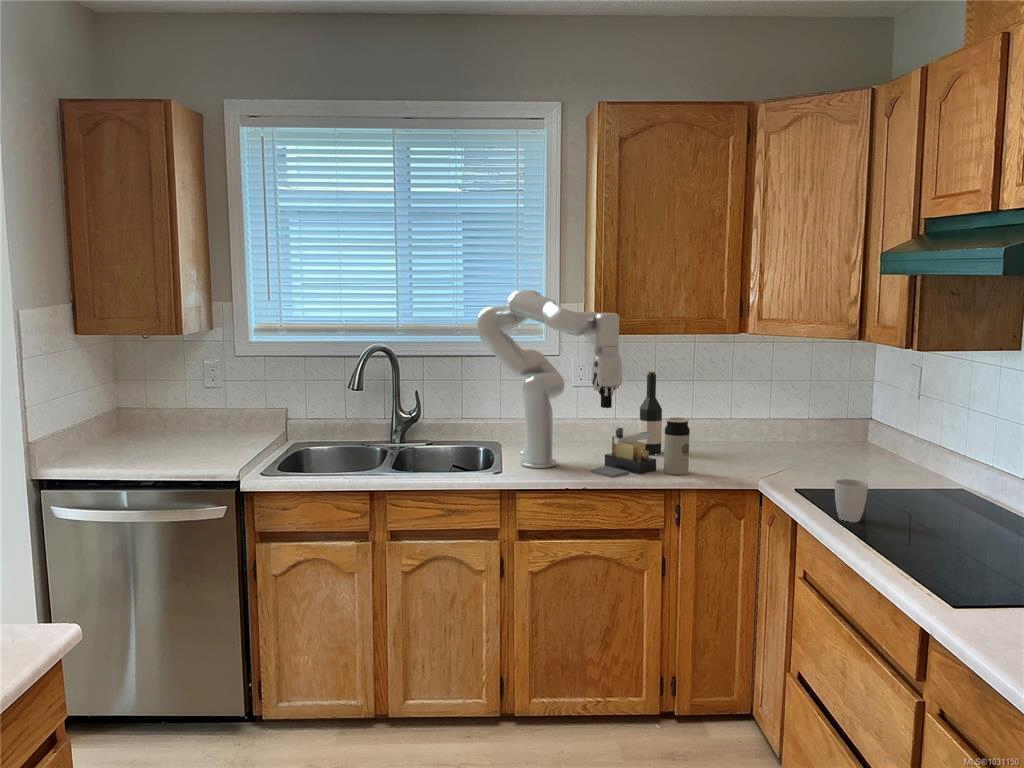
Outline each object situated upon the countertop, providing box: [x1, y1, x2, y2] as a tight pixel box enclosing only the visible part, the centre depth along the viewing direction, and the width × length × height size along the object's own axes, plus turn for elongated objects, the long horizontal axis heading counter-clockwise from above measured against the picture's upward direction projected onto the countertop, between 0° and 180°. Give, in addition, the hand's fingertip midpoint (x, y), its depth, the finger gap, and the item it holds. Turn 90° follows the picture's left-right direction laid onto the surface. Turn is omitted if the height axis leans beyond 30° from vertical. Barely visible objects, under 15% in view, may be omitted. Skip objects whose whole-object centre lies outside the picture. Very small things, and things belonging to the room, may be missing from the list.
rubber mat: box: [589, 465, 630, 478], centre depth 265 cm, size 10×8×1 cm
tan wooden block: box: [615, 440, 645, 460], centre depth 270 cm, size 8×6×5 cm
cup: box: [834, 478, 869, 523], centre depth 212 cm, size 8×8×10 cm
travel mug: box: [663, 416, 691, 476], centre depth 264 cm, size 8×8×18 cm
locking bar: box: [614, 427, 651, 444], centre depth 270 cm, size 2×16×5 cm, turn 130°
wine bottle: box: [638, 371, 663, 456], centre depth 294 cm, size 8×8×30 cm
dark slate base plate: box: [604, 435, 657, 475], centre depth 271 cm, size 16×8×10 cm, turn 39°
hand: (606, 407), depth 261 cm, fingers closed
